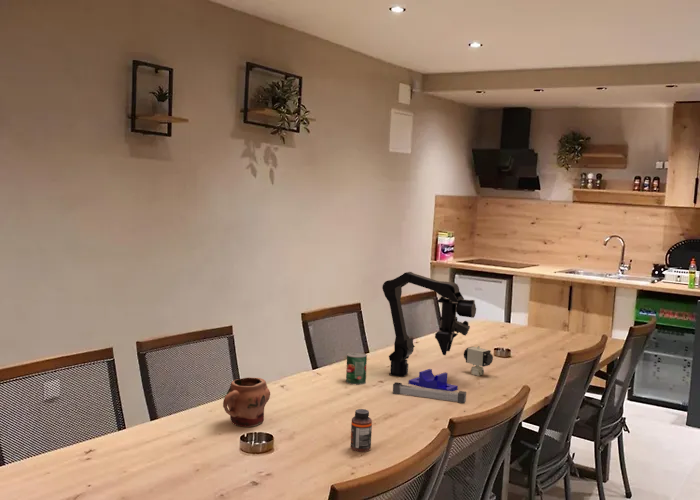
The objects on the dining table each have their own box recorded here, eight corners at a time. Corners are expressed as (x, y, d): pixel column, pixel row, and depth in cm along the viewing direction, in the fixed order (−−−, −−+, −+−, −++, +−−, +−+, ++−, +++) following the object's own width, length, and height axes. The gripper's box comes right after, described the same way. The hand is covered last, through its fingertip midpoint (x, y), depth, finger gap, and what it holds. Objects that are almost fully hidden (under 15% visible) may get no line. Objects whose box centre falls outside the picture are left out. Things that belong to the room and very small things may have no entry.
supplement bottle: (349, 445, 205) (351, 407, 204) (369, 445, 205) (371, 407, 204) (351, 452, 199) (352, 414, 198) (371, 452, 199) (373, 414, 198)
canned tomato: (370, 382, 274) (371, 354, 273) (356, 385, 268) (357, 357, 267) (355, 378, 279) (356, 351, 278) (341, 381, 273) (342, 354, 272)
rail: (392, 393, 259) (393, 384, 259) (395, 391, 262) (395, 382, 262) (464, 403, 250) (464, 393, 250) (465, 401, 253) (466, 391, 253)
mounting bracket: (457, 390, 268) (458, 375, 268) (447, 394, 263) (448, 378, 262) (418, 381, 280) (419, 366, 279) (408, 384, 274) (409, 369, 274)
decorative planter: (242, 437, 208) (243, 391, 206) (209, 429, 213) (210, 385, 212) (278, 419, 226) (279, 377, 224) (247, 412, 231) (248, 371, 230)
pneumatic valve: (485, 378, 286) (487, 349, 285) (462, 372, 294) (463, 344, 293) (493, 376, 290) (494, 348, 289) (469, 370, 298) (471, 343, 297)
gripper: (464, 320, 264) (462, 360, 265) (473, 313, 282) (470, 350, 283) (435, 317, 268) (433, 357, 269) (445, 310, 285) (443, 347, 287)
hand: (446, 353), depth 277 cm, fingers open, 7 cm apart
